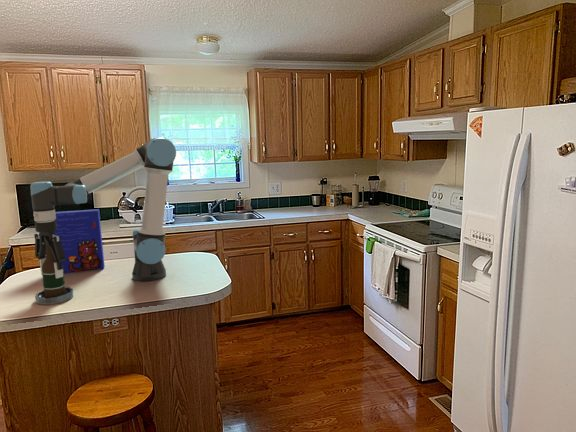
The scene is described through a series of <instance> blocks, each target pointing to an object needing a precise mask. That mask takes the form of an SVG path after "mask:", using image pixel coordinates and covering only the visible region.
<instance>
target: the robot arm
mask: <svg viewBox="0 0 576 432" xmlns="http://www.w3.org/2000/svg"><path fill="white" fill-rule="evenodd" d="M133 150H134V151H133V152H131V153H130V154H127V155H125V156H123V157H121V158H119V159H117V160H115V161H113V162H111V163H109V164H106V165H105V166H103V167H100V168H98V169H96V170H94V171H92V172H90V173H88V174H86V175H83V176H81V177H79V178H78V179H75V180H72V181H69V182H68V183H66V184H65V185H59V186H57V185H56V186H55V185H53V183H52V182H51V181H35V182H34V181H33V182H32V183H31V184H30V186H29V187H30V198H31V205H32V212H33V220H34V229H35V232H37V233H34V240H35V241H34V244H35V245H34V257H36V258H37V260H39V265H40V266H39V267H40V274H41V276H42V265H43V263H44V261H45V260H46V243H47V246H48V247H50V250H51V252H52V255H53V257H54V260H55V261H54V268H55V276H56V278H60V277H63V269H62V268H63V267H62V261H63V260H65V255H64V251H63V247H62V243H61V236H56V235H55V232H54V231H55V230H57V222H56V221H55V219H56V213H55V212H56V206H60V205H61V206H63V205H80V204H86V203H88V195H89V194H91V193H93V192H96V191H97V190H99V189H101V188H104V187H105V186H108V185H109V184H111V183H114V182H116V181H118V180H120V179H122V178H124V177H126V176H129V175H130V174H133V173H134V172H136V171H138V170H140V169H145V170H146V171H147V175H146V186H145V193H144V194H145V195H144V202H143V212H142V223H141V227H140V228H138V229H137V228H136V229H134V230H133V231H132V239H133V251H134V265H133V269H132V273H131V275H132V276H131V277H132V279H133V280H134V281H137V282H147V281H155V280H156V281H157V280H159V279H162V278H164V277H165V276H166V275H167V271H166V270H167V269H166V268H165V267H166V266H165V265H164V261H163V260H162V259H164V256H165V255H166V245H165V242H166V241H165V240H166V234H167V233H166V232H165V230H164V229H163V228H164V218H165V217H164V216H165V208H166V200H167V189H168V182H169V174H171V173H172V172H173V168H174V161H175V159H176V157H177V150H176V146H175V144H174V143H173V142H172V141H171V140H169V139H168V138H166V137H153V138H151V139H149V140H148V141H147V142H145V143H144V144H142V145H140V146H139V147H136V148H134V149H133ZM45 241H46V243H45ZM51 242H53V244H50V243H51Z"/></svg>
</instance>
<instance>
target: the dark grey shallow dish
mask: <svg viewBox="0 0 576 432" xmlns="http://www.w3.org/2000/svg"><path fill="white" fill-rule="evenodd" d="M73 297H74V288H72V287H71V286H70V287H69V286H65V294H64V295H60V296H57V297H50V298H45V295H44V289H43V290H41V291H38V292H37V293H36V294H35V295H34V300H35V302H36V304H37V305H40V306H53V305H58V304H62V303H65V302H68V301H70V300H71V299H73Z"/></svg>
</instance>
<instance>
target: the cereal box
mask: <svg viewBox="0 0 576 432" xmlns="http://www.w3.org/2000/svg"><path fill="white" fill-rule="evenodd" d="M55 213H56V219H55V221H56V222H57V230H55V231H54V232H55V235H56V236H61V243H62V247H63V251H64V255H65V260H63V261H62V265H63V270H64V275H65V274H71V273H73V274H74V273H81V272H91V271H92V272H93V271H99V270H105V260H104V259H105V257H104V247H103V238H102V226H101V217H100V209H99V208H97V209H83V210H67V211H64V210H63V211H55Z"/></svg>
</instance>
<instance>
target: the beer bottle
mask: <svg viewBox="0 0 576 432" xmlns="http://www.w3.org/2000/svg"><path fill="white" fill-rule="evenodd" d="M45 243H46V241H45ZM50 244H53V242H51V243H50ZM54 261H55V260H54V257H53V255H52V252H51V250H50V247H48V246H47V243H46V260H45V261H44V263H43V265H42V275H41V276H42V284H43V290H44V295H45V298H50V297H57V296H60V295H64V294H65V287H66V285H65V274H64V270H63V277H60V278H56V276H55V268H54ZM62 267H63V265H62ZM62 269H63V268H62Z"/></svg>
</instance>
